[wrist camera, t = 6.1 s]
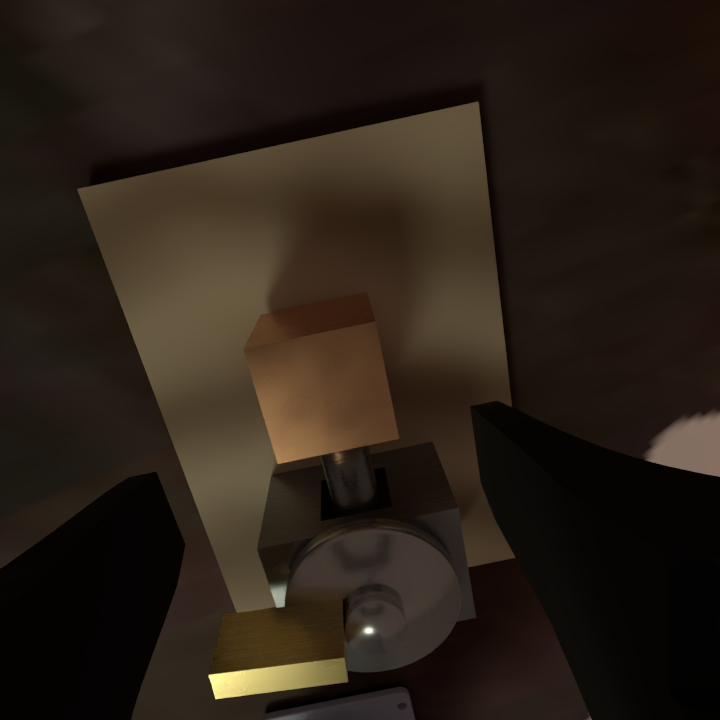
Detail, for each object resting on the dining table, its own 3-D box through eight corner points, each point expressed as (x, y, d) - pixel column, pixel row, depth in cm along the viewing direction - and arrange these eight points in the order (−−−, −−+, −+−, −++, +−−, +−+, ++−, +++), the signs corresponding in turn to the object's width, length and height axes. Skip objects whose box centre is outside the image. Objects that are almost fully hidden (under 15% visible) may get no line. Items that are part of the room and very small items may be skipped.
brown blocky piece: (420, 558, 23) (438, 633, 19) (333, 576, 23) (334, 654, 19) (366, 292, 19) (375, 321, 15) (260, 314, 19) (243, 349, 15)
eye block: (449, 536, 23) (476, 617, 19) (299, 566, 24) (292, 654, 19) (432, 441, 22) (458, 507, 17) (271, 474, 22) (256, 549, 17)
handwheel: (452, 507, 17) (476, 573, 14) (459, 641, 19) (481, 722, 16) (213, 537, 17) (190, 609, 14) (246, 668, 19) (231, 754, 16)
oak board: (522, 543, 25) (528, 555, 24) (240, 601, 25) (237, 614, 24) (472, 104, 18) (478, 101, 17) (87, 188, 18) (77, 189, 18)
